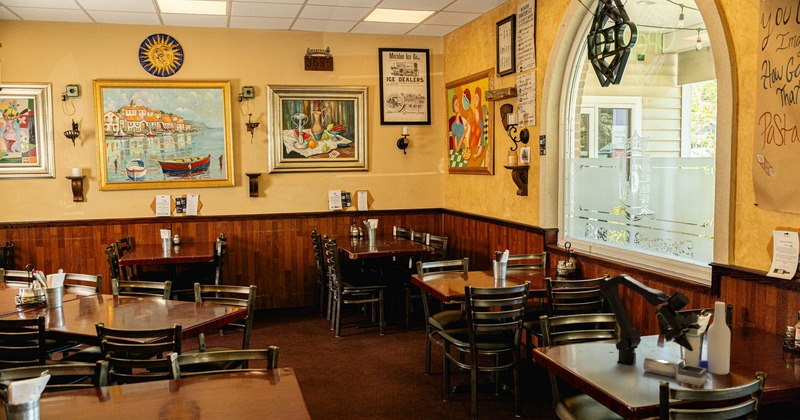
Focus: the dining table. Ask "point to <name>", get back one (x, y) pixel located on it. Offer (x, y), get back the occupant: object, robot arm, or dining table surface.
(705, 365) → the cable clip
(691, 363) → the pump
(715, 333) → the alcohol
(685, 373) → the grey cylinder with box
